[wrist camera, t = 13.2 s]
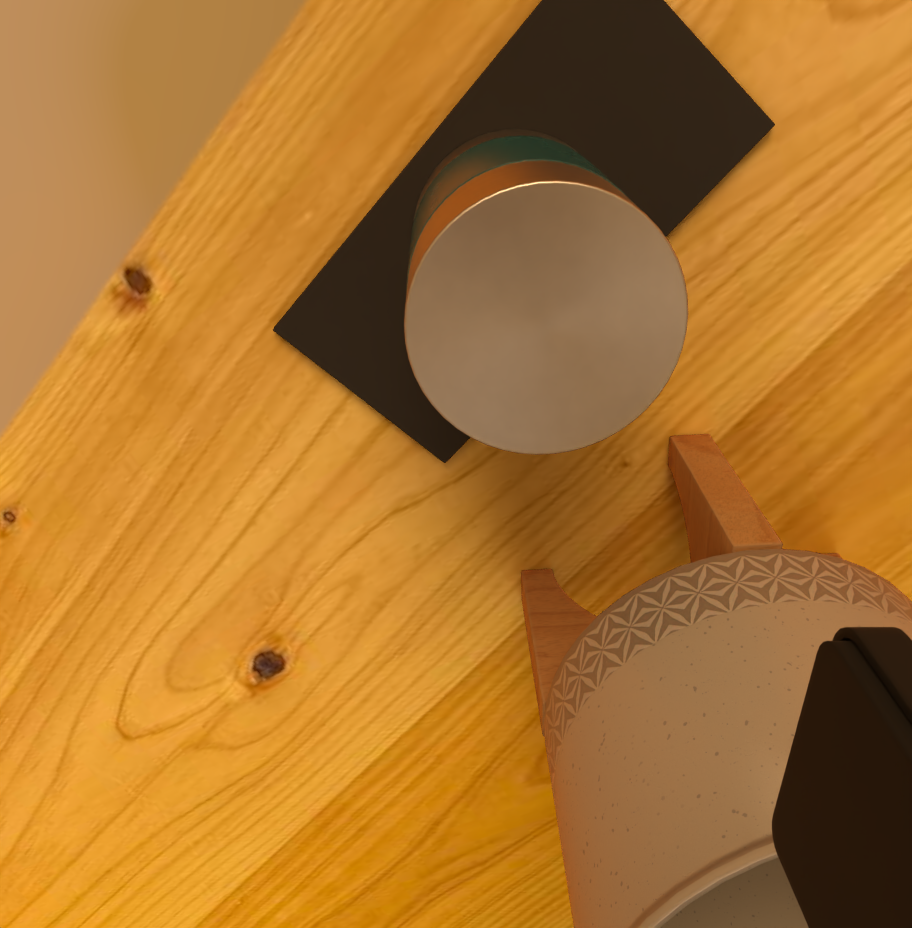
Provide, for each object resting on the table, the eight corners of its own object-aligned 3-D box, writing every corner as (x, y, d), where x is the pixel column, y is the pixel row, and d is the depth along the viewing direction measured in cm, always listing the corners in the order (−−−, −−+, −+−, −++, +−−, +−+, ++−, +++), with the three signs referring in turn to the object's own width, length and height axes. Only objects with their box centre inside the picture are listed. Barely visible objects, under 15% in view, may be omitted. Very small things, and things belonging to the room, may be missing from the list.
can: (412, 124, 27) (402, 175, 19) (622, 130, 28) (711, 183, 19) (411, 327, 30) (402, 454, 22) (600, 331, 31) (668, 458, 22)
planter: (860, 424, 33) (1258, 799, 17) (813, 689, 39) (1076, 1150, 23) (518, 443, 33) (598, 835, 17) (523, 705, 39) (586, 1177, 23)
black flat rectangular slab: (444, 460, 33) (444, 463, 33) (273, 327, 31) (272, 330, 30) (772, 123, 28) (775, 124, 28) (598, -70, 25) (600, -71, 25)
